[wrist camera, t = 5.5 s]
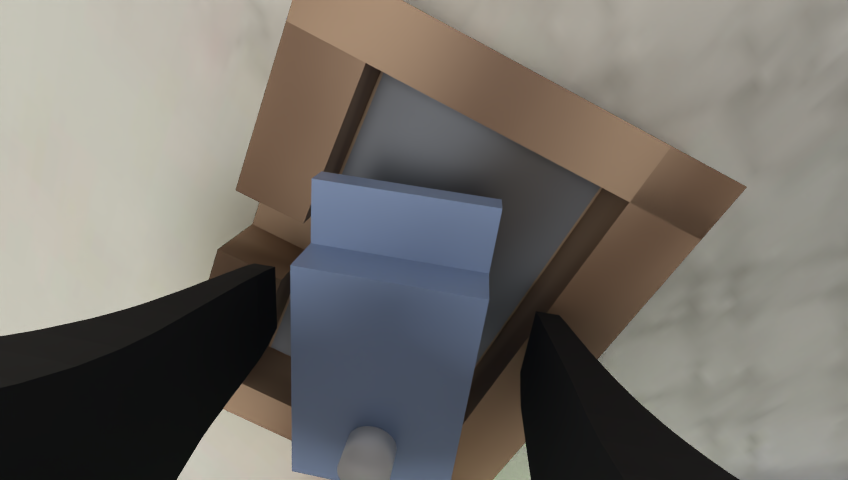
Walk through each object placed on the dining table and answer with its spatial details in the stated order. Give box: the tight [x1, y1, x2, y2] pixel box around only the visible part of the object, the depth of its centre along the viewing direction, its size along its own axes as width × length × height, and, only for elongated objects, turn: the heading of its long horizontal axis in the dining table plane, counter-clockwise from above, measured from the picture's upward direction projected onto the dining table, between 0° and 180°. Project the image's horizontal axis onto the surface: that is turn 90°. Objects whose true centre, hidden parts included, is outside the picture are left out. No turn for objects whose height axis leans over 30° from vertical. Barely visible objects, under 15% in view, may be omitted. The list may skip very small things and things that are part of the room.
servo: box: [290, 171, 502, 480], centre depth 12 cm, size 4×9×6 cm, turn 173°
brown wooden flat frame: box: [209, 0, 747, 480], centre depth 14 cm, size 11×14×3 cm
